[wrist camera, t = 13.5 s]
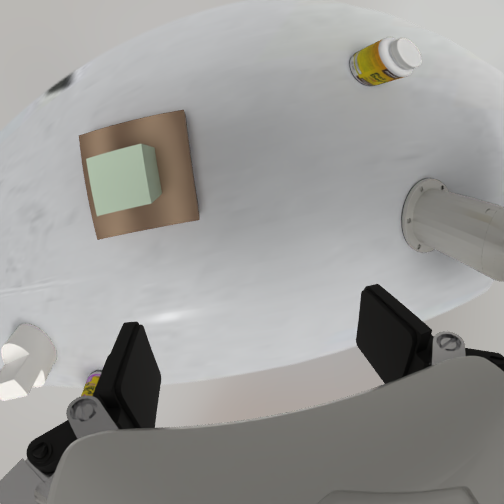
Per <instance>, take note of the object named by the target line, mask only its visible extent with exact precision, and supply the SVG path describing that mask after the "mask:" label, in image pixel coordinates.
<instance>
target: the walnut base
mask: <svg viewBox="0 0 504 504" xmlns="http://www.w3.org/2000/svg"><path fill="white" fill-rule="evenodd" d="M79 141H80V150H81V158H82V165H83V172H84V178H85V184H86V189H87V195H88V200H89V205H90V210H91V215H92V219H93V223H94V228H95V232H96V236H97V240H98V239H103V238H108V237H113V236H117V235H122V234H127V233H132V232H137V231H142V230H147V229H152V228H157V227H163V226H168V225H173V224H179V223H184V222H190V221H196V220H199V209H198V202H197V196H196V190H195V183H194V176H193V169H192V162H191V155H190V148H189V140H188V132H187V124H186V116H185V112H184V110H179V111H174V112H168V113H163V114H158V115H153V116H149V117H144V118H140V119H136V120H132V121H128V122H124V123H120V124H116V125H112V126H109V127H105V128H102V129H99V130H95V131H92V132H89V133H86V134H83V135H80V136H79ZM138 144H144V145H148V146H151V147H154V148H155V154H156V160H157V167H158V173H159V179H160V185H161V190H162V194H161V195H160V196H159V197H158V198H157V199H156V200H155V201H154V202H152V203H151V204H147V205H143V206H138V207H134V208H129V209H125V210H120V211H116V212H112V213H108V214H104V215H100V216H97V214H96V210H95V205H94V200H93V195H92V190H91V185H90V179H89V174H88V168H87V161H86V159H87V158H90V157H94V156H97V155H100V154H104V153H107V152H111V151H114V150H118V149H122V148H126V147H129V146H133V145H138Z"/></svg>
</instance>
